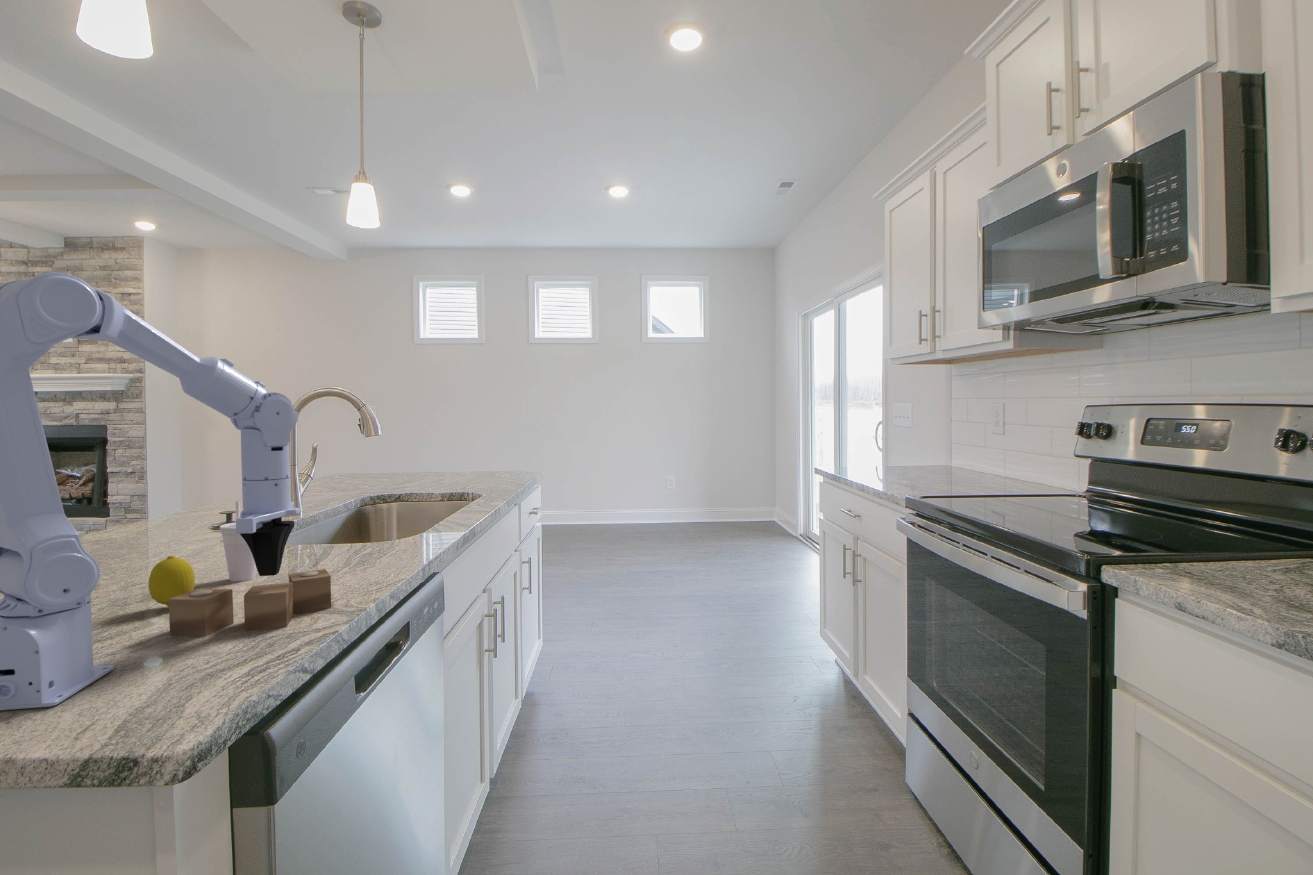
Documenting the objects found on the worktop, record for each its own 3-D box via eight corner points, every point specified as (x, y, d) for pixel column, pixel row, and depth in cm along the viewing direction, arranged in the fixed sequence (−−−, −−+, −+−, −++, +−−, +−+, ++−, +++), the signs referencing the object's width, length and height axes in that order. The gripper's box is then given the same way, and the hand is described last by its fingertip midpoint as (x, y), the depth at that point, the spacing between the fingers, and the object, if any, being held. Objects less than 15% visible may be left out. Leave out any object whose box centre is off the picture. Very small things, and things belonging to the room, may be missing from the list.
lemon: (170, 615, 91) (168, 560, 91) (139, 612, 92) (137, 558, 92) (204, 603, 97) (203, 552, 96) (175, 601, 98) (173, 550, 97)
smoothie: (211, 581, 109) (209, 501, 108) (245, 572, 115) (243, 497, 114) (239, 585, 107) (237, 503, 106) (272, 575, 113) (270, 498, 112)
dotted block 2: (331, 608, 95) (330, 574, 95) (293, 614, 92) (292, 579, 92) (325, 600, 99) (325, 567, 99) (289, 605, 96) (288, 572, 96)
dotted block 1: (205, 637, 83) (204, 598, 83) (169, 636, 83) (168, 597, 83) (233, 624, 88) (232, 587, 88) (199, 623, 88) (198, 586, 88)
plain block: (287, 627, 87) (286, 591, 87) (244, 631, 85) (243, 595, 85) (293, 616, 91) (292, 582, 91) (253, 620, 90) (252, 585, 89)
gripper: (277, 484, 81) (280, 587, 82) (315, 472, 95) (317, 560, 96) (216, 485, 80) (219, 590, 80) (263, 473, 94) (266, 562, 94)
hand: (269, 574), depth 88 cm, fingers closed
